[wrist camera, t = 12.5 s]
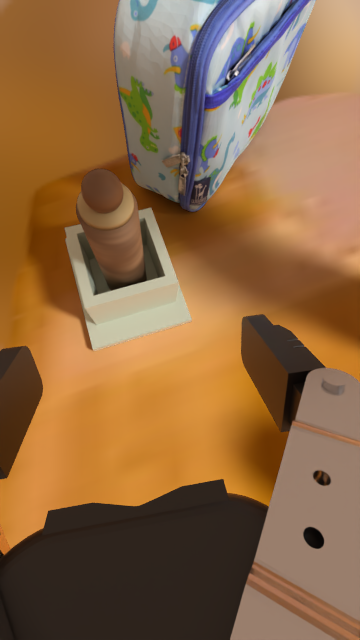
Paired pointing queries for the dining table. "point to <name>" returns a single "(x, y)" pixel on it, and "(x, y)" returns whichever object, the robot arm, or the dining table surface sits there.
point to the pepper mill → (112, 228)
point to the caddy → (127, 290)
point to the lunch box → (199, 85)
